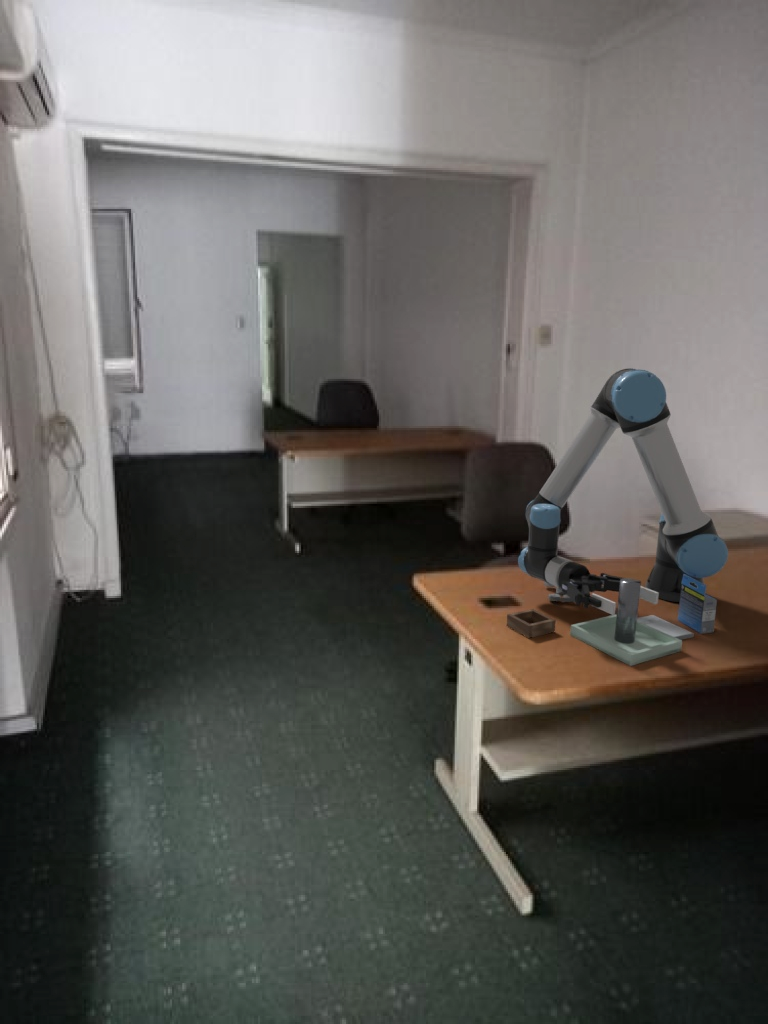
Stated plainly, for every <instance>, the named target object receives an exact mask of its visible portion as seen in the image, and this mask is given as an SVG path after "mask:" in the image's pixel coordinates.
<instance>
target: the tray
mask: <svg viewBox="0 0 768 1024" xmlns="http://www.w3.org/2000/svg"><path fill="white" fill-rule="evenodd" d="M616 616H617V613H615V614H614V615H612V614H610V615H608V616H602V617H599V618H595V619H591V620H586V621H583V622H578V623H574V624H571V625H570V630H569V631H570V632H569V635H570V637H573V638H575V639H577V640H579V641H581V642H582V643H585V644H587V645H588V646H590V647H593V648H594V649H596V650H598V649H599V650H598V651H599V652H603V653H604V654H606V655H608V656H610V657H612V658H614V659H616V660H618V661H619V662H622V663H624V664H626V665H628V666H630V667H632V666H635V665H638V664H641V663H646V662H650V661H652V660H655V659H656V660H657V659H659V658H662V657H666V656H669V655H673V654H677V653H680V652H682V647H683V646H682V645H683V639H682V640H679V639H677V638H675V637H673V636H670V635H668V634H666V633H664V632H661V631H659V630H657V629H654V628H652V627H650V626H648V625H645V624H643V623H641V622H639V621H637V623H636V632H635V641H634V643H630V644H625V643H620V642H618V641H616V640H615V639H614V636H615V626H616Z"/></svg>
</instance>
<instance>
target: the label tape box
mask: <svg viewBox="0 0 768 1024" xmlns="http://www.w3.org/2000/svg"><path fill="white" fill-rule="evenodd" d="M690 582H691V583H695V585H697V588H695V587H693V586H692V585H690ZM707 586H708V585H706V584H705V583H704V584H703V583H701V582H699V581H697V580H695V579H693V578H691V577H689V576H687V575H686V574H684V575H683V579H682V584H681V594H680V602H679V606H678V613H677V614H678V616H677V621H678V622H680V623H682V624H683V625H685V626H688V627H689V628H691V629H692V630H693V631H695V632H697V633H699V634H710V633H714V631H715V621H716V613H717V602H718V599H717V598H714V597H713V596H710V595H708V594H706V590H707Z"/></svg>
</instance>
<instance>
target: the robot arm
mask: <svg viewBox="0 0 768 1024" xmlns="http://www.w3.org/2000/svg"><path fill="white" fill-rule="evenodd" d="M599 391H600V392H599V393H598V395H597V397H596V399H595V400H594V401H593V402H592V405H591V406H590V415H589V416H588V418H587V419H586V420H585V423H584V424H583V425H582V426H581V429H579V432H578V433H577V435H576V436H575V438H574V439H573V440H572V442H571V443H570V445H569V447H568V448H567V450H566V451H565V452H564V454H563V456H562V457H561V459H560V460H559V462H558V463H557V465H556V466H555V467H554V469H553V471H552V472H551V473H550V476H549V477H548V478H547V480H546V482H544V484H543V486H542V487H541V489H540V490H539V493H538V494H537V495H536V496H535V498H534V499H532V500H530V502H529V503H528V504H527V505H526V508H525V513H524V515H525V520H526V521H527V525H528V544H527V545H528V546H526V547H524V548H523V549H522V550H520V554H519V556H518V559H517V560H518V561H517V563H518V564H517V565H518V567H519V568H520V570H521V571H522V572H523V573H525V574H526V575H528V576H530V577H531V578H534V579H537V580H539V581H542V582H547V583H549V584H551V585H553V586H556V587H557V588H558V589H562V591H563V592H565V593H567V594H566V595H568V596H569V597H570V598H571V599H572V600H573V603H574V604H575V605H577V606H581V605H582V604H583V608H585V609H589V608H590V606H592V607H594V608H596V609H599V610H601V611H603V612H605V613H607V614H610V615H615V614H616V609H617V608H616V607H617V606H616V605H617V602H615V601H613V600H611V599H608V598H606V597H604V596H601V595H599V594H596V593H595V592H602V593H606V592H607V591H610V592H618V593H619V587H620V580H621V579H623V578H624V577H620V576H615V575H612V574H611V575H610V574H608V573H604V572H600V574H599V575H597V574H592V573H591V572H590V570H589V569H588V567H587V566H586V565H583V564H581V563H578V562H575V561H573V560H572V559H568V558H566V557H562V556H560V555H558V549H559V535H560V524H561V522H562V519H561V510H562V509H563V508H564V507H565V505H566V503H567V502H568V500H569V499H570V497H571V496H572V494H574V493H573V492H574V491H575V490H576V489H577V487H578V485H579V484H580V482H581V481H582V480H583V479H584V477H585V475H586V474H587V472H588V471H589V469H590V468H591V467H592V465H593V463H594V462H595V460H596V459H597V457H598V456H599V454H601V452H602V451H603V449H604V447H605V446H606V444H607V443H608V442H609V440H610V439H611V437H612V436H613V434H614V433H615V431H616V430H617V429H619V428H620V429H621V432H622V434H624V435H626V436H628V437H630V438H632V442H633V444H634V446H635V449H636V452H637V454H638V456H639V459H640V461H641V463H642V467H643V469H644V471H645V474H646V476H647V480H648V481H649V484H650V486H651V489H652V491H653V493H654V496H655V498H656V501H657V504H658V506H659V509H660V511H661V514H660V519H659V521H658V535H657V543H656V553H655V562H654V565H653V567H652V569H651V571H650V573H649V575H648V578H647V579H646V582H645V587H644V586H642V585H641V586H640V595H639V600H640V599H641V600H643V601H646V602H647V603H651V604H653V605H658V603H659V599H661V600H663V601H668V602H676V603H680V594H681V584H682V579H683V575H684V574H686V575H687V576H689V577H691V578H693V579H695V580H697V581H699V582H701V583H703V584H705V583H704V579H705V578H710V577H712V576H714V575H716V574H718V573H719V572H721V571H722V569H723V568H724V567H725V565H726V563H727V561H728V557H729V550H728V546H727V545H726V542H725V541H724V540H723V539H722V537H720V536H719V534H718V532H717V529H716V526H715V524H714V522H713V520H712V517H711V515H710V513H707V512H704V511H703V510H702V509H701V506H700V505H699V502H698V499H697V497H696V493H695V491H694V489H693V486H692V483H691V481H690V479H689V476H688V473H687V472H686V469H685V467H684V466H685V465H684V464H683V462H682V459H681V456H680V453H679V451H678V447H677V446H676V442H675V441H674V437H673V435H672V433H671V430H670V428H669V424H668V422H669V420H670V418H671V415H672V414H671V411H670V409H669V406H668V403H667V390H666V388H665V385H664V383H663V382H662V380H661V379H660V378H659V377H658V376H657V375H656V374H654V373H653V372H650V371H648V370H646V369H636V368H622V369H620V370H618V371H616V372H614V373H613V374H612V375H610V376H609V378H608V379H607V380H606V381H605V383H604V385H603V387H602V388H601V390H599ZM639 581H640V582H641V583H642V581H641V580H639ZM690 585H692V586H693V587H695V588H697V585H695V583H691V582H690ZM602 586H604V588H601V587H602ZM556 587H555V588H556Z"/></svg>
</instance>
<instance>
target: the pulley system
mask: <svg viewBox="0 0 768 1024" xmlns="http://www.w3.org/2000/svg"><path fill="white" fill-rule="evenodd" d="M543 582H544V581H543ZM544 587H547V588H555V590H556V591H555V593H549V594H548V595H547V597H548V600H549V601H551V602H552V601H556V602H566V603H570V602H571V603H574V601H573V600H572V599H571V598H570V597H569V596H568V594H567V593H565V592H563V591H562V589H558V588H557V587H555V586H553V585H551V584H549V583H547V582H544ZM601 588H604V585H602V587H601ZM561 596H562V597H561Z"/></svg>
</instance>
